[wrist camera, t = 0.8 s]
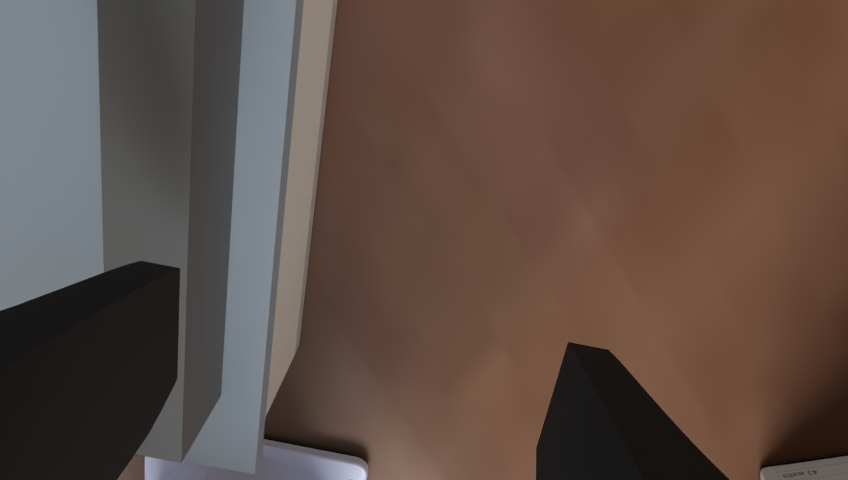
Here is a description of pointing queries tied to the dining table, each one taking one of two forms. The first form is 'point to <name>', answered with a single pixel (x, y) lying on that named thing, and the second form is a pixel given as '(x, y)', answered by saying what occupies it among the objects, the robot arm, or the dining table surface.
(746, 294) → the dining table surface
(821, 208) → the dining table surface
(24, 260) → the lid
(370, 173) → the dining table surface
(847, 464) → the light bulb box
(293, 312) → the white square shallow box
